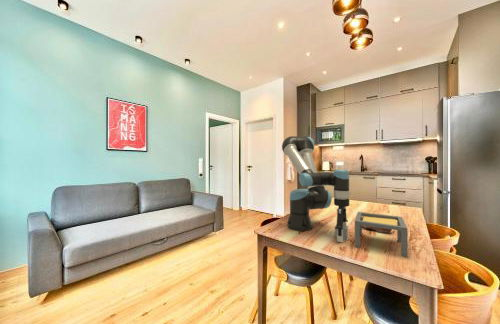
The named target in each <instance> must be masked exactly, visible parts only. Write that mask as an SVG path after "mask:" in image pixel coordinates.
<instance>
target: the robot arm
mask: <svg viewBox="0 0 500 324" xmlns="http://www.w3.org/2000/svg"><path fill="white" fill-rule="evenodd" d="M281 150H282V153H283V154H284V155H285V156H287V157H288V159H289V160H290V163H292V166H293V167H294V168H295V170H296V171H297V173H298V181H299V185H301V186H302V187H307V188H298V189H293V190H291V191H290V193H289V216H288V219H287V223H286V224H287V225H286V226H287V228H289V229H291V230H294V231H299V232H301V231H302V232H303V231H309V230H312V229H313V223H312V221H311V216H310V210H323V209H327V208H329V207H330V206H331V203H332V199H333V204H334V205H333V206H337V207H338V208H337V209H336V214H337V215H336V224H337V226H336V225H335V226H336V227H335V226H334V230H335V229H337V239H336V242H339V243H344V240H343V225H345V226H347V223H348V219H347V207H349V206H350V199H349V198H350V195H351V192H350V173H349V170H348V169H334V170H333V172H329V171H325V172H318V170H317V168H316V167H317V166H316V164H315V160H314V156H313V153H314V151H315V141H314V139H313V138H312V137H309V136H292V135H291V136H288V137H285V139H284V140H283V141H282V145H281ZM325 186H331V187H333V196H332V194H331V192H330V191H329V190H327V189H326V188H325ZM332 197H333V198H332ZM339 226H340V227H339Z"/></svg>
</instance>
